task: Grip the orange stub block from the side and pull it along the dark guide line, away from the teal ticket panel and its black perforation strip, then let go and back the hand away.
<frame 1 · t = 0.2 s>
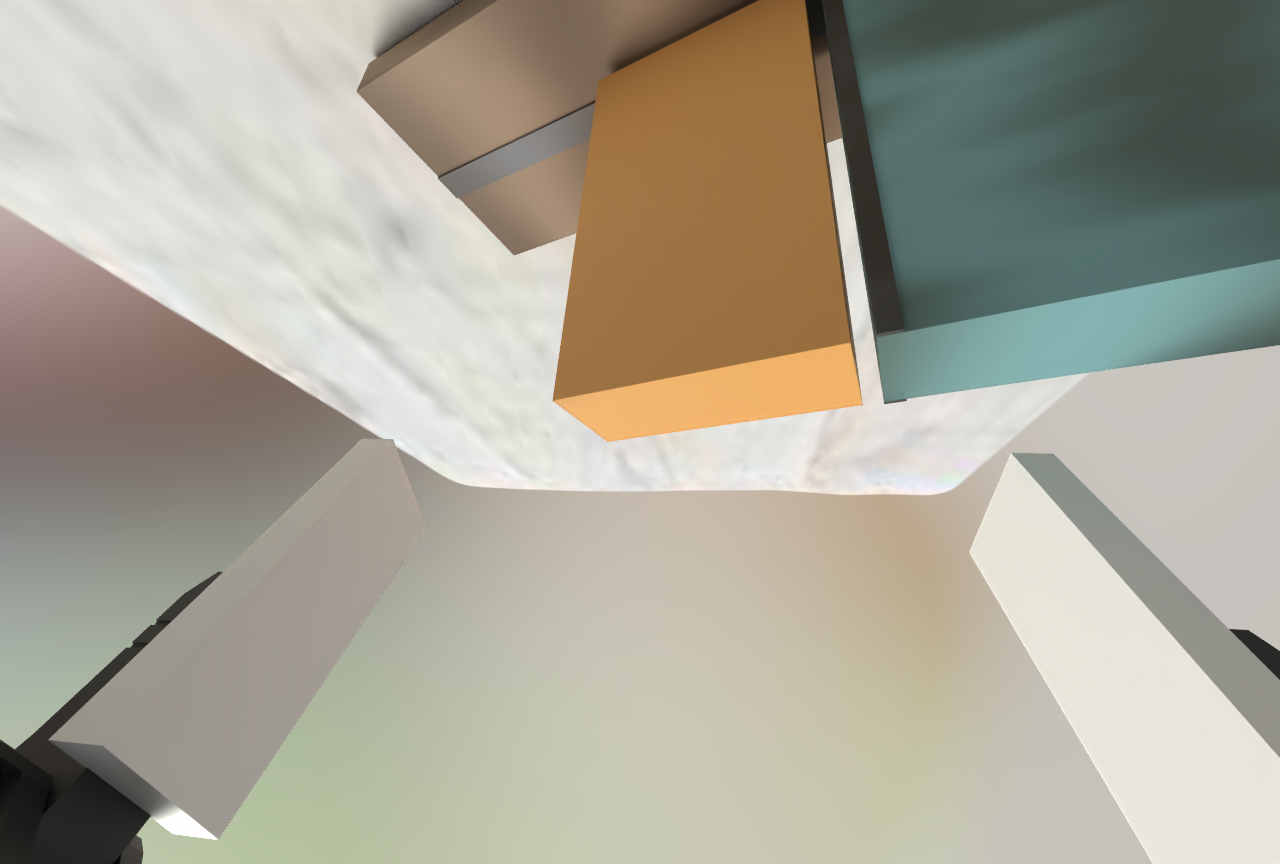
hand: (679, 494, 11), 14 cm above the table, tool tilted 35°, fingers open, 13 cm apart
stub: (704, 210, 13), point 7 cm above the table, slide at 0.0 cm
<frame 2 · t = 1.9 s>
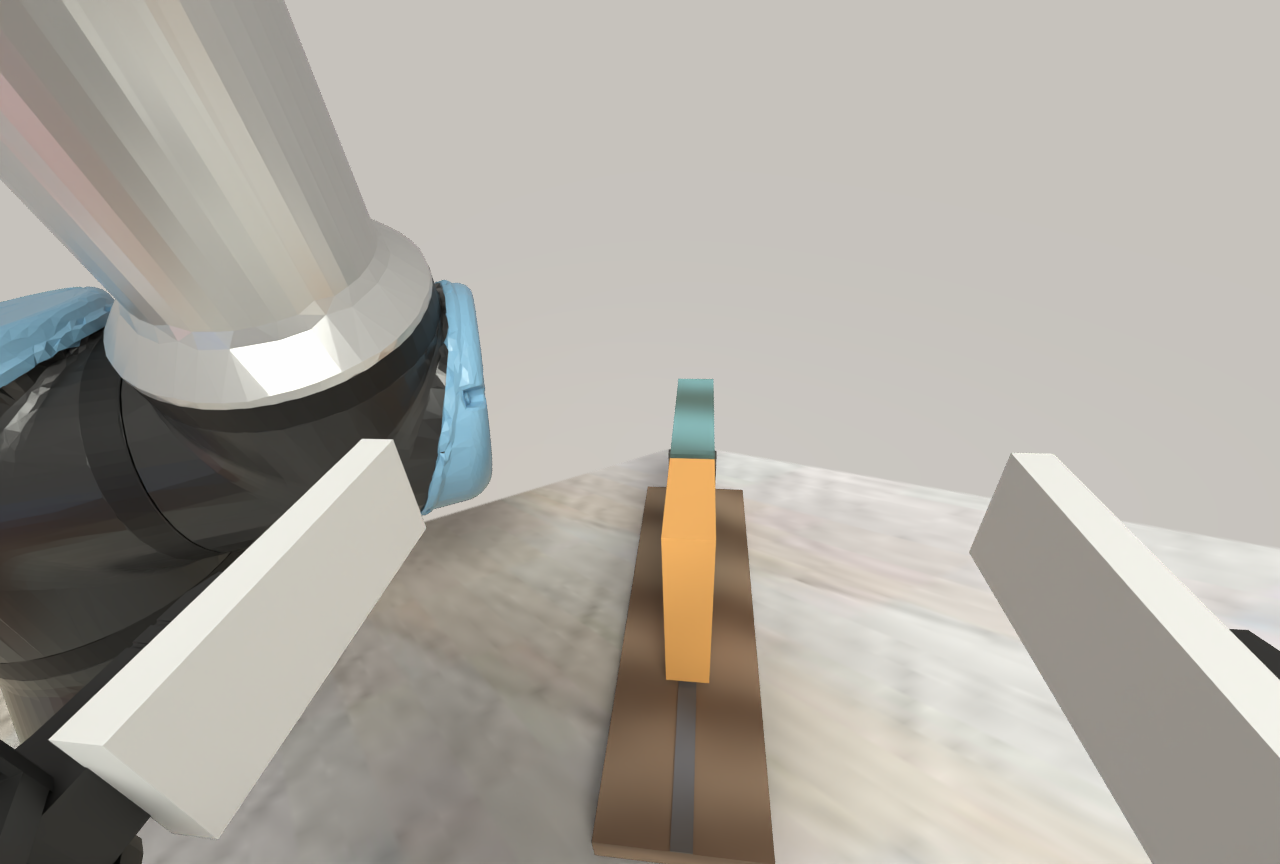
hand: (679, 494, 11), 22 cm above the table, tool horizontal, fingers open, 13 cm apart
stub: (689, 572, 28), point 7 cm above the table, slide at 0.0 cm
ticket stand: (690, 607, 34), on the table
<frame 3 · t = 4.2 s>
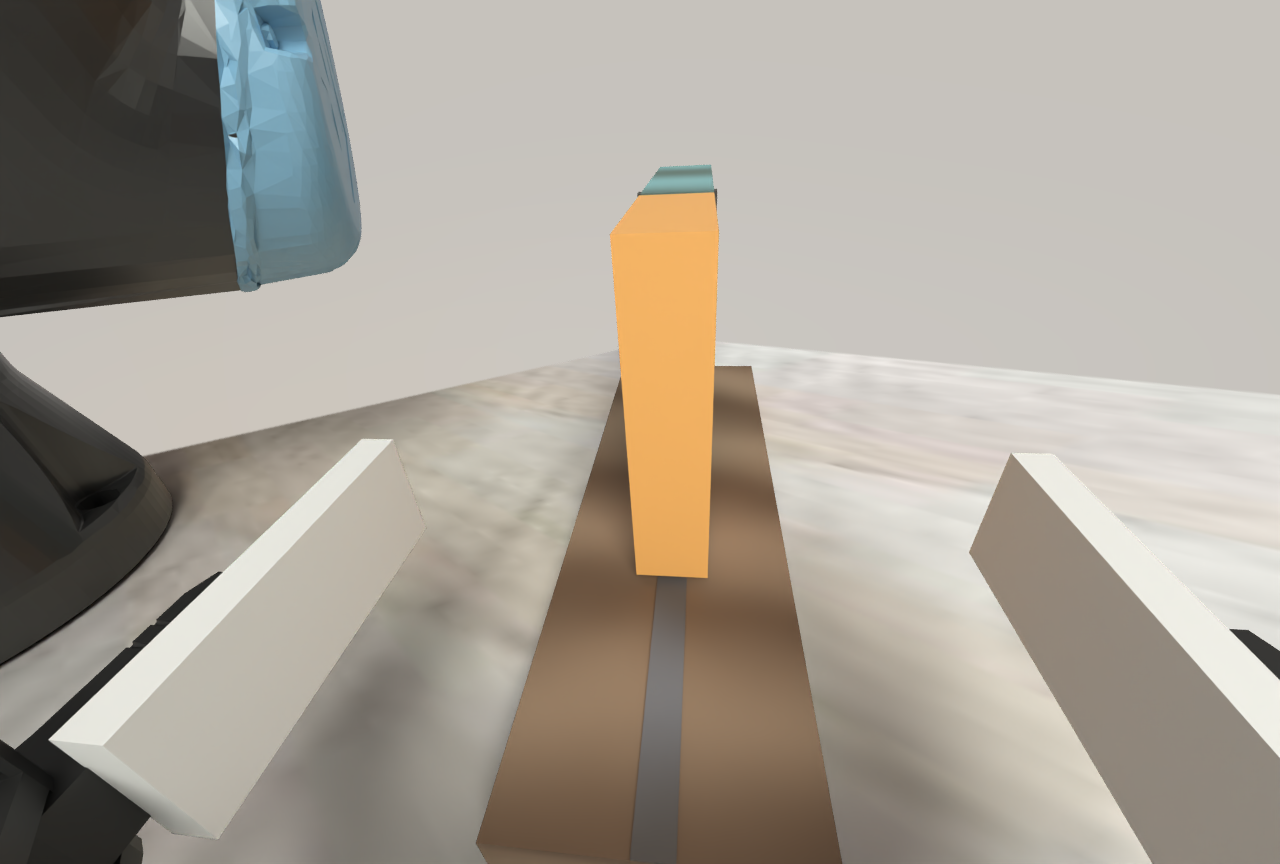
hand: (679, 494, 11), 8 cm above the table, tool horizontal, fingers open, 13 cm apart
stub: (674, 390, 17), point 7 cm above the table, slide at 0.0 cm
ticket stand: (679, 497, 23), on the table
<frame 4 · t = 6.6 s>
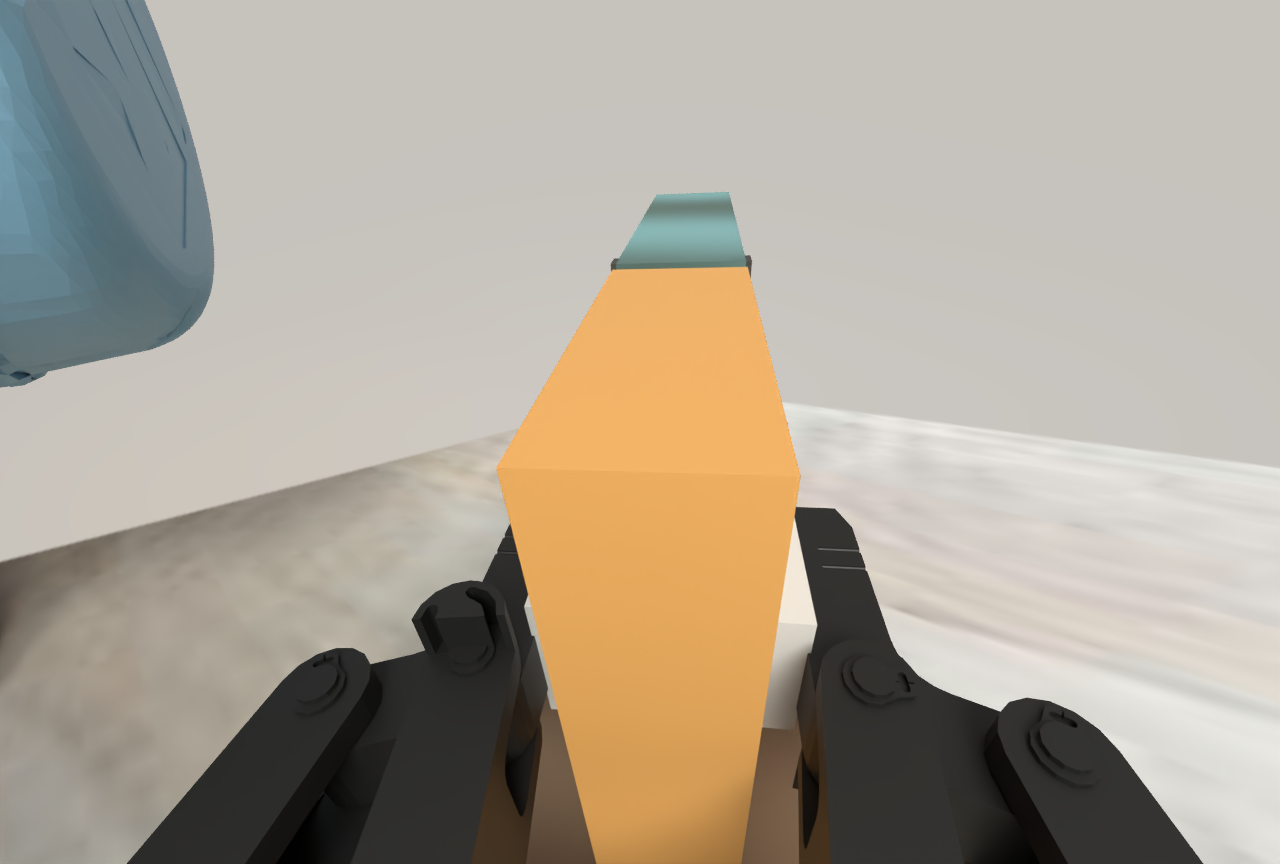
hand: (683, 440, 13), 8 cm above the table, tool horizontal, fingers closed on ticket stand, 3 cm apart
stub: (673, 610, 9), point 7 cm above the table, slide at 0.0 cm
ticket stand: (682, 671, 16), on the table
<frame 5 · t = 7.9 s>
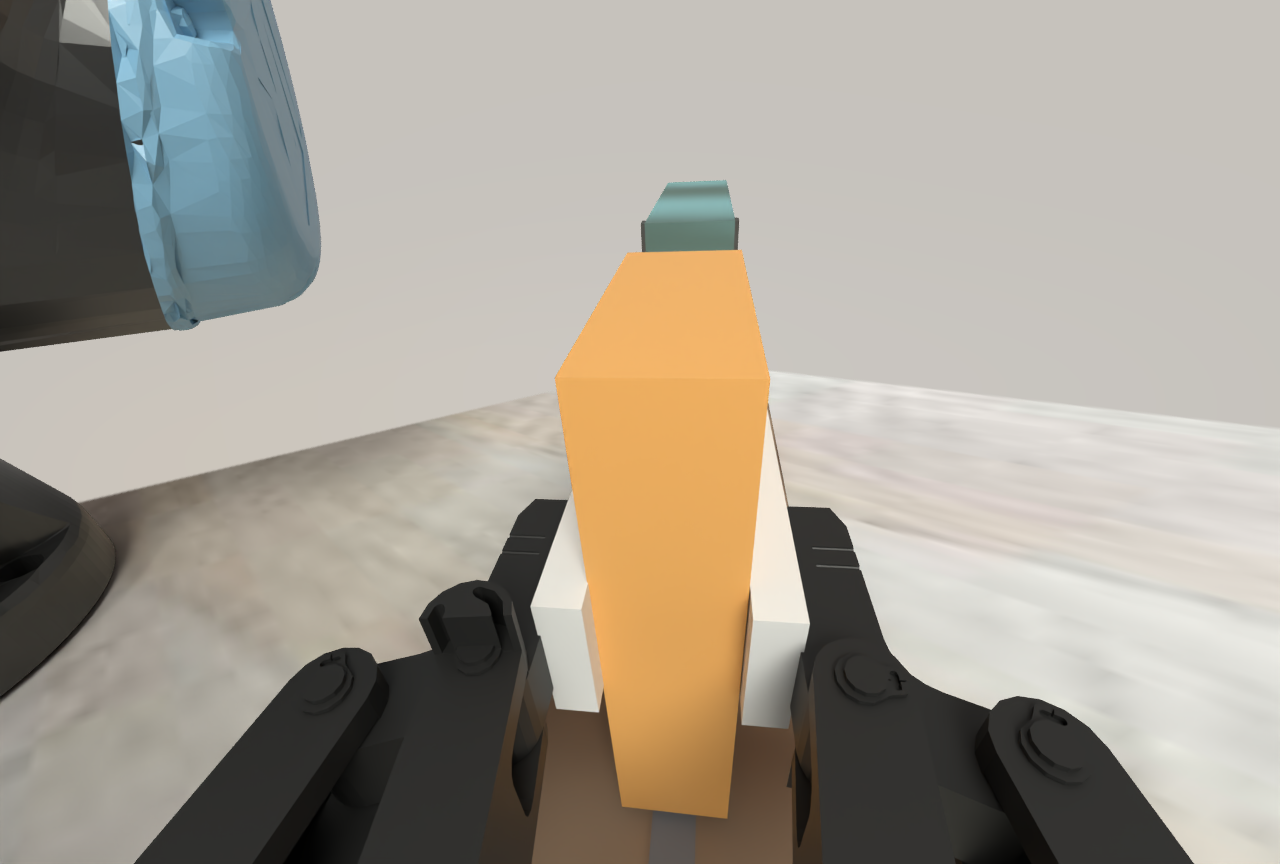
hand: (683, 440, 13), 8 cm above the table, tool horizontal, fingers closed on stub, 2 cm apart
stub: (678, 542, 11), point 7 cm above the table, slide at 2.9 cm, touching gripper
ticket stand: (688, 563, 20), on the table
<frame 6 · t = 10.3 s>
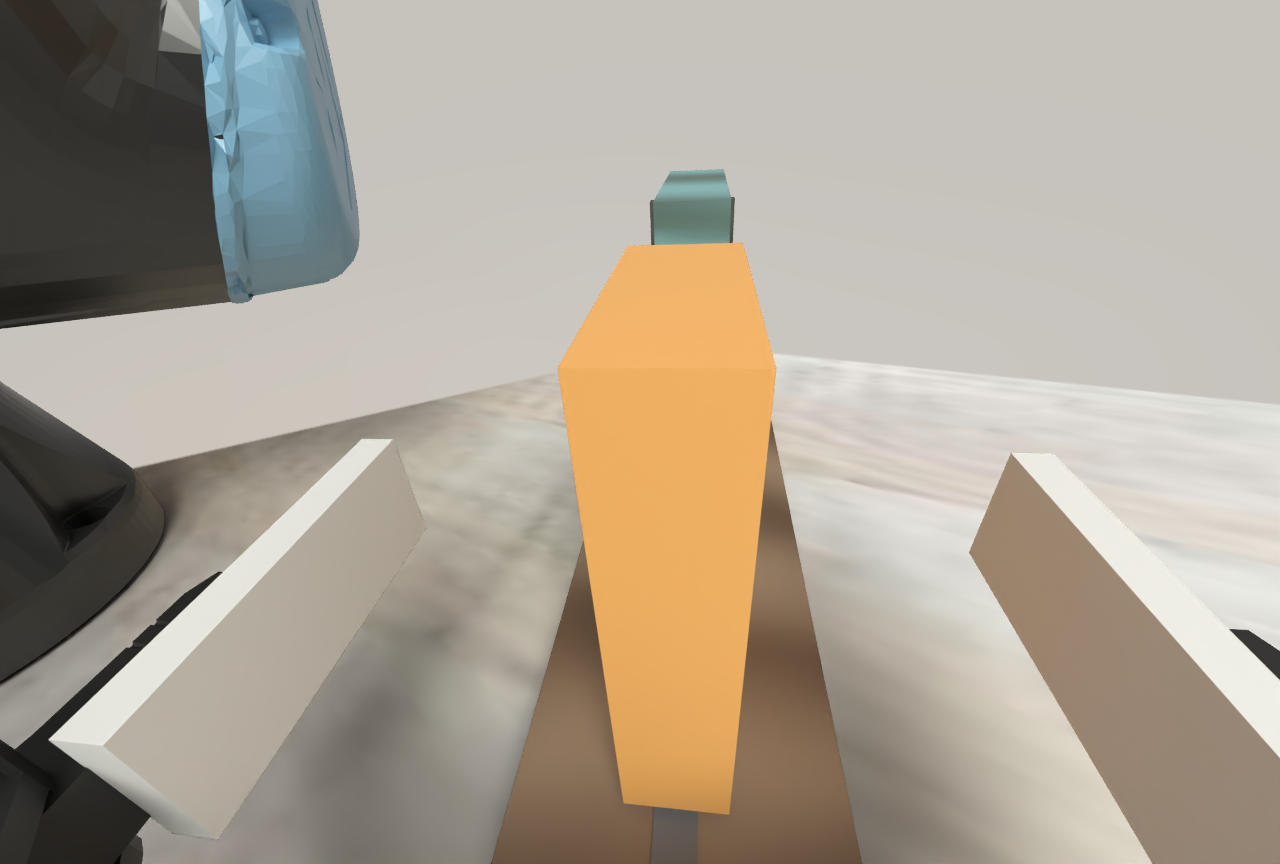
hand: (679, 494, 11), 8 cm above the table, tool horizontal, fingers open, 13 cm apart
stub: (679, 538, 11), point 7 cm above the table, slide at 5.5 cm
ticket stand: (690, 515, 22), on the table
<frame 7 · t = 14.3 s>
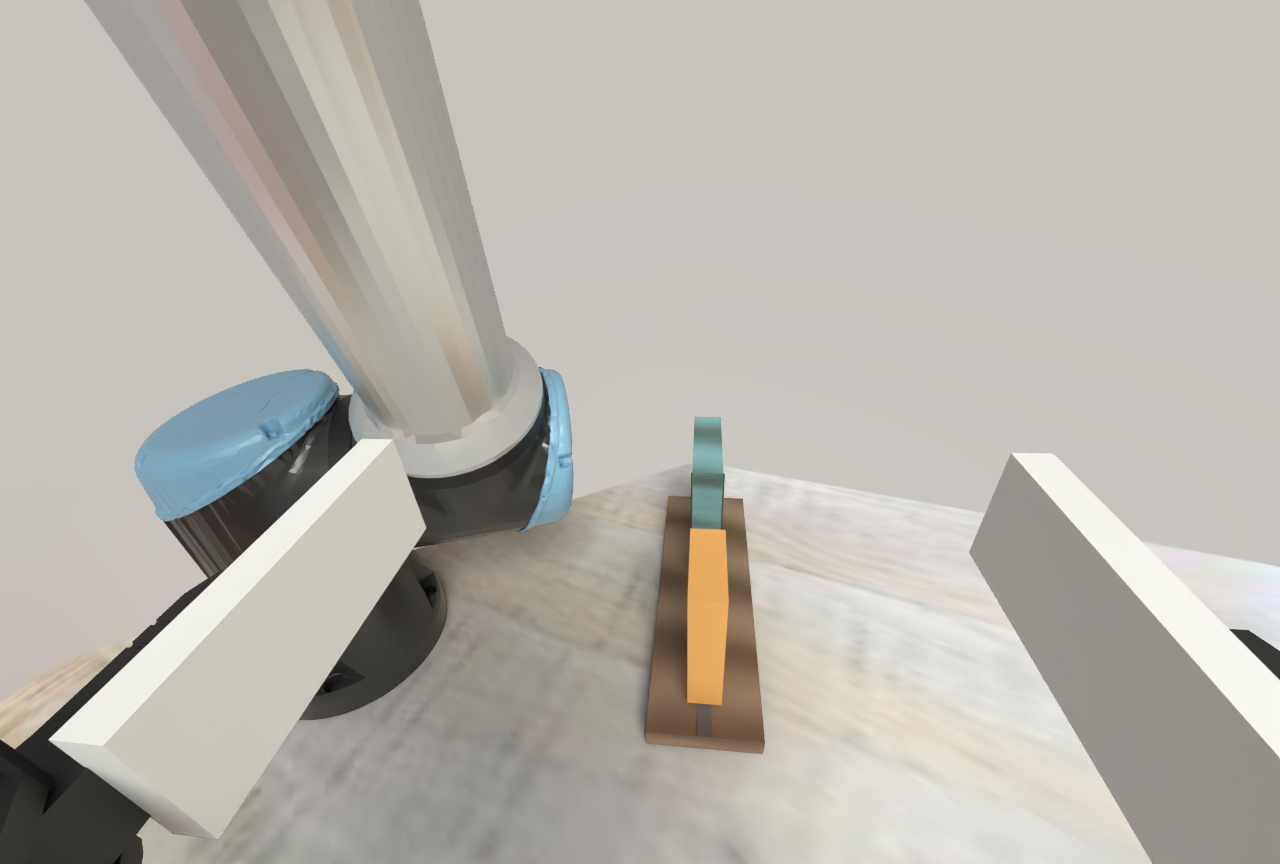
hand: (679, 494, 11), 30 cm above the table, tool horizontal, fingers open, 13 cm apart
stub: (706, 617, 35), point 7 cm above the table, slide at 5.5 cm
ticket stand: (704, 587, 46), on the table
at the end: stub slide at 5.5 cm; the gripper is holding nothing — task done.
